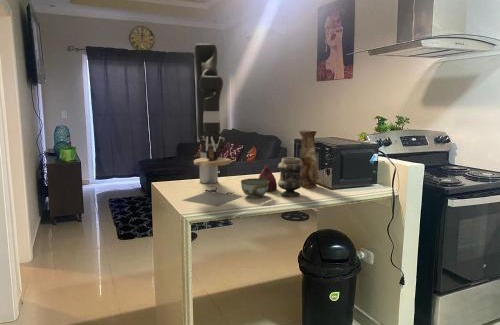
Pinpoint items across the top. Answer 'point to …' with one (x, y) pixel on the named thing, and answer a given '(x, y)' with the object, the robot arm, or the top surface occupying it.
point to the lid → (212, 160)
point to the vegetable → (269, 178)
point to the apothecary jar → (290, 176)
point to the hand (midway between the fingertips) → (212, 159)
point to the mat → (212, 198)
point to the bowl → (255, 187)
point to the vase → (308, 159)
